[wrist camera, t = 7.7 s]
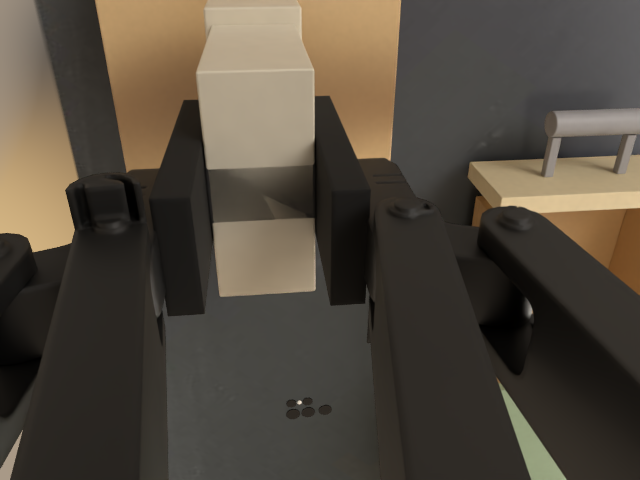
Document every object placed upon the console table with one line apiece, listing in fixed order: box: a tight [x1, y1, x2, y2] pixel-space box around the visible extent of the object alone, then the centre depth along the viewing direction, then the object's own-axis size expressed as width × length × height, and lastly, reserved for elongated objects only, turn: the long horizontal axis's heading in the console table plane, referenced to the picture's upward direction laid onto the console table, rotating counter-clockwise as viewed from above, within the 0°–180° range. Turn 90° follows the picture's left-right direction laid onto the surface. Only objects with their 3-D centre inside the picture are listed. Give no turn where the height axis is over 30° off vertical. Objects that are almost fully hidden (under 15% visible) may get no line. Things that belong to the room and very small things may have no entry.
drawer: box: [468, 108, 640, 383], centre depth 40 cm, size 21×13×6 cm, turn 0°
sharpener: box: [196, 0, 316, 297], centre depth 18 cm, size 7×3×9 cm, turn 0°
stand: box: [95, 0, 401, 172], centre depth 29 cm, size 14×12×12 cm
